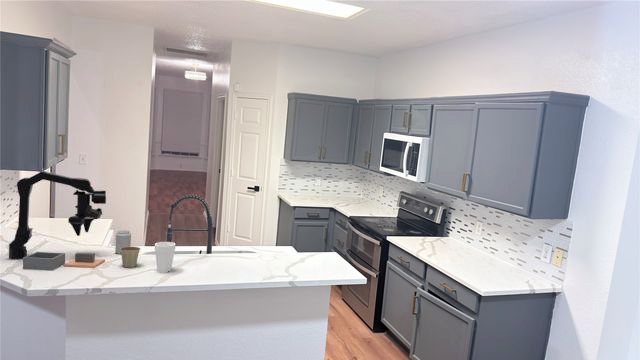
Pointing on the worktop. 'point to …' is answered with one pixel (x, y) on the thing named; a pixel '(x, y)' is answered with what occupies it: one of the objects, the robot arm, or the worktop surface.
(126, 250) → the flower pot
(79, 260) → the lid
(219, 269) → the worktop surface
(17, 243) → the robot arm
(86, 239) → the worktop surface
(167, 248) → the foam cup
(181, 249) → the worktop surface
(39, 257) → the storage box
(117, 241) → the can
